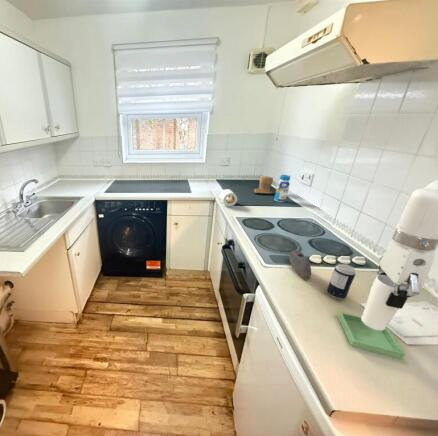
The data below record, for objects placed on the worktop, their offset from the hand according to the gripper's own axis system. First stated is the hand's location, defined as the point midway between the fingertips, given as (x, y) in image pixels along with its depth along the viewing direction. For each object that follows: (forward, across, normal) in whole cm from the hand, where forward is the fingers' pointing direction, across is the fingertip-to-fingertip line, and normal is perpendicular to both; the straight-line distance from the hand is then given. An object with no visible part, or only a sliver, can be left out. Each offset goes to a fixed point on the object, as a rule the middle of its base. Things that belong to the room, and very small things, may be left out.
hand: (386, 296), depth 65 cm
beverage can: (+15, +18, +3) cm, 24 cm away
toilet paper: (+15, +109, +48) cm, 120 cm away
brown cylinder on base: (+15, +150, +22) cm, 152 cm away
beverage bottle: (+15, +132, +10) cm, 133 cm away
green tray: (+15, 0, 0) cm, 15 cm away
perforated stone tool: (+15, +29, +13) cm, 35 cm away
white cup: (+10, 0, 0) cm, 10 cm away
